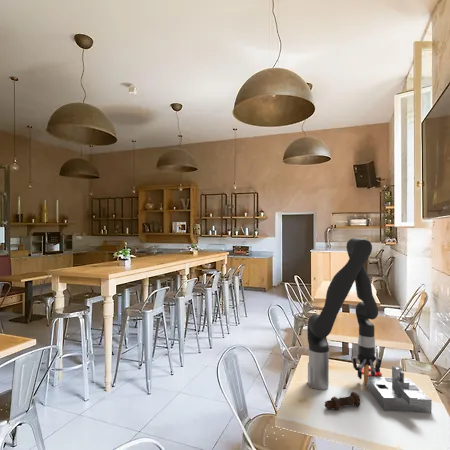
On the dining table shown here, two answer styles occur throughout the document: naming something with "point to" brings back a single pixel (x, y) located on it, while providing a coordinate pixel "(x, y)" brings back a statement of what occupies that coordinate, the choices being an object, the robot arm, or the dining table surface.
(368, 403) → the dining table surface
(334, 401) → the bolt
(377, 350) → the tow hook
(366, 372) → the rounded pin
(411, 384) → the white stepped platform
